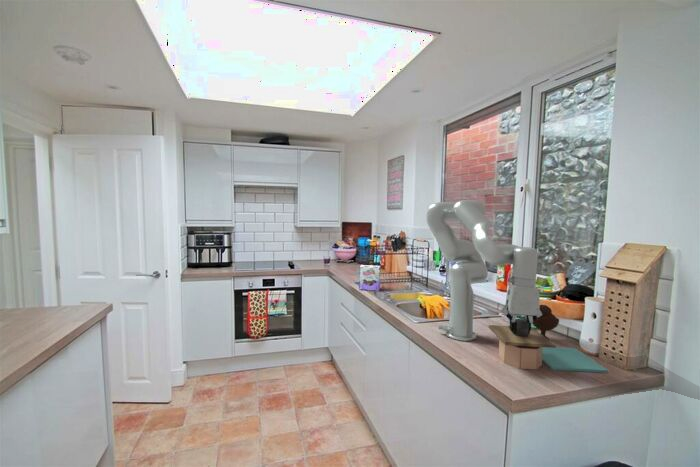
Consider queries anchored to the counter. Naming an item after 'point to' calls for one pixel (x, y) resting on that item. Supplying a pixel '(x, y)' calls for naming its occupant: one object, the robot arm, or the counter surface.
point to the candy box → (369, 277)
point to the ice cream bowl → (546, 320)
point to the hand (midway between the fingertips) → (519, 331)
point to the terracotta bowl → (521, 356)
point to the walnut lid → (521, 335)
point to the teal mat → (569, 360)
